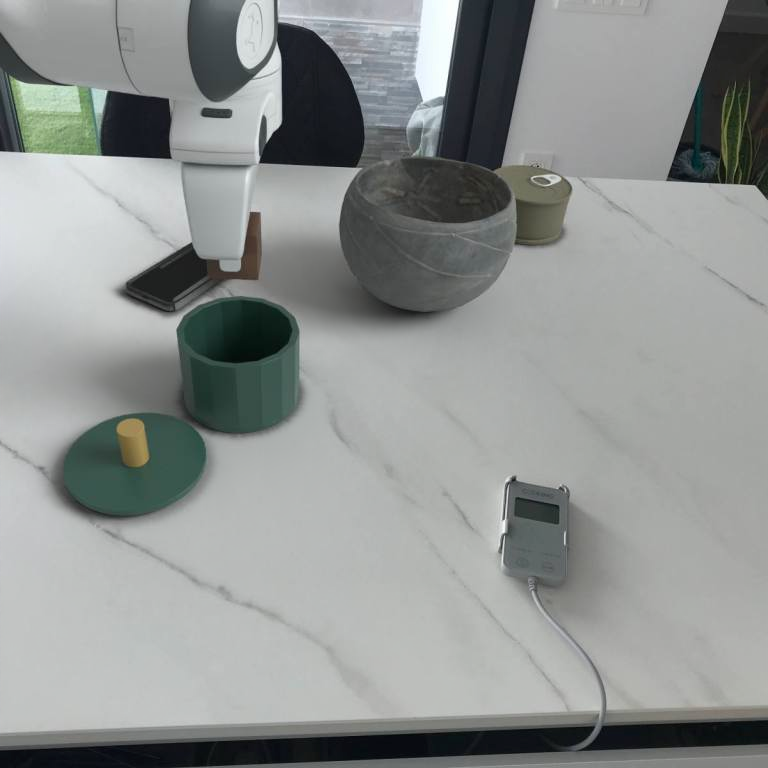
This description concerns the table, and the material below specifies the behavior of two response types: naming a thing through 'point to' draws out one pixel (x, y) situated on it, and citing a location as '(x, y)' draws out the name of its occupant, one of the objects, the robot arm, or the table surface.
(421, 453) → the table surface
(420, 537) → the table surface
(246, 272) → the block
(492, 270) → the bowl
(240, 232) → the robot arm
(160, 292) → the phone
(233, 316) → the tin
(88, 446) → the tin lid
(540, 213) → the can
